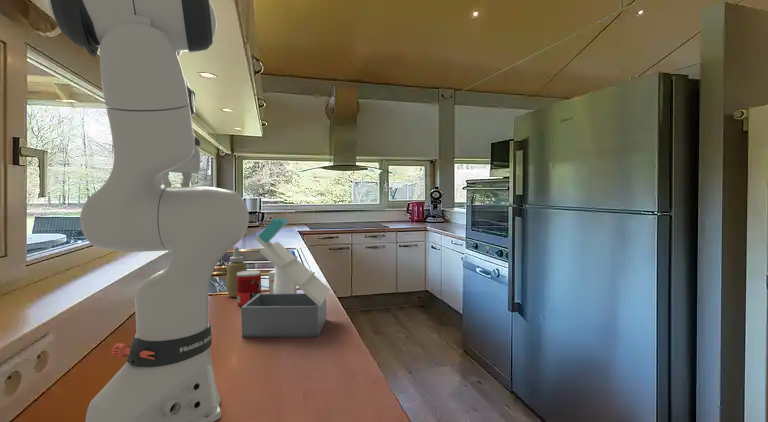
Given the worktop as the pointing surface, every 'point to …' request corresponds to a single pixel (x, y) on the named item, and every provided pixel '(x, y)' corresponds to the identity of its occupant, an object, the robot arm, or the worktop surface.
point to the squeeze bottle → (234, 272)
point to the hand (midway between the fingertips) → (176, 189)
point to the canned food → (248, 286)
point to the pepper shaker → (282, 283)
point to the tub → (282, 316)
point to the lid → (291, 263)
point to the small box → (271, 282)
